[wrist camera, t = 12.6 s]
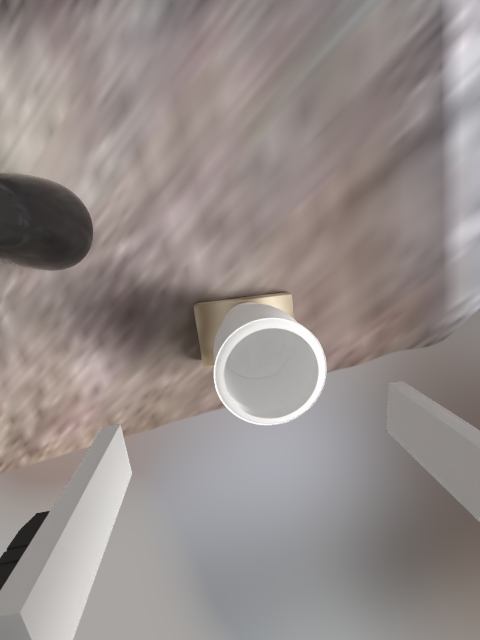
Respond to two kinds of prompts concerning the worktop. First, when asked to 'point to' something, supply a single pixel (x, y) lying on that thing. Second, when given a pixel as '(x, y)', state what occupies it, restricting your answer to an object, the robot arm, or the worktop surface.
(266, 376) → the white cup
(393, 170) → the worktop surface
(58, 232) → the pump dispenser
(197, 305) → the birch trivet
